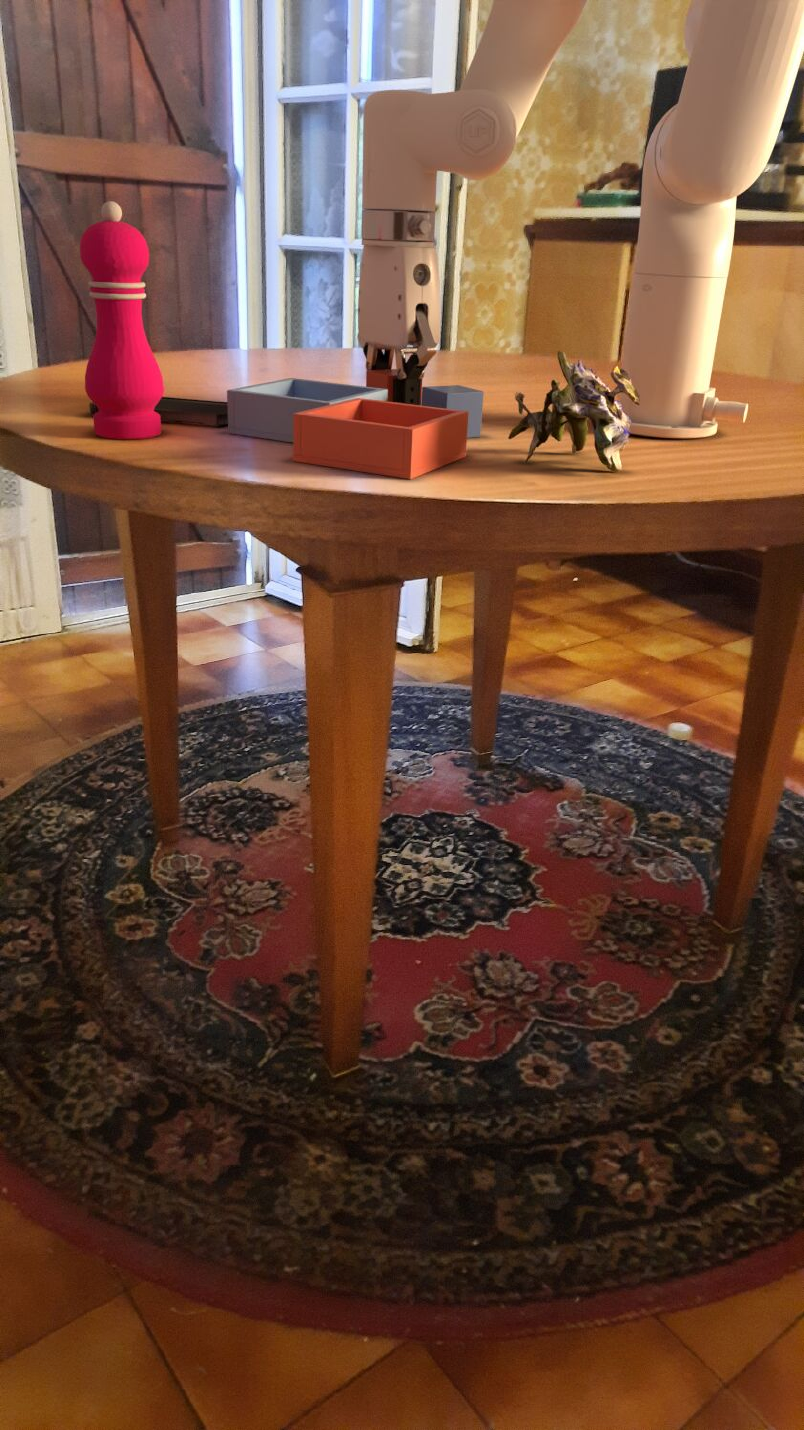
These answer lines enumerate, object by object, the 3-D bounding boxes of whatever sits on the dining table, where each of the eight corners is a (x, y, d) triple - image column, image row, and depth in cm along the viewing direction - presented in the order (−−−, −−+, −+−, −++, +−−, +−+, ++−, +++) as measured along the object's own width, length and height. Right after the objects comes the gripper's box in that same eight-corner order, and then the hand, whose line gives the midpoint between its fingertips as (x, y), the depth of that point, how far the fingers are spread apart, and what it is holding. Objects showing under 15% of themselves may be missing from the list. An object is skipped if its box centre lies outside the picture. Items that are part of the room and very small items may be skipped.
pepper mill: (176, 429, 101) (163, 204, 92) (153, 442, 95) (137, 202, 86) (105, 424, 102) (86, 200, 93) (77, 438, 95) (54, 198, 86)
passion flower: (602, 529, 94) (646, 437, 84) (488, 499, 94) (518, 404, 83) (616, 441, 100) (658, 345, 89) (508, 413, 99) (538, 314, 89)
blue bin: (386, 430, 105) (388, 389, 103) (329, 448, 96) (329, 403, 94) (291, 417, 110) (291, 377, 108) (227, 433, 100) (226, 390, 98)
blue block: (480, 437, 104) (484, 391, 102) (444, 440, 102) (447, 393, 100) (455, 429, 107) (458, 385, 105) (419, 432, 105) (421, 386, 103)
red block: (421, 416, 113) (422, 374, 111) (386, 419, 110) (387, 375, 108) (399, 410, 116) (400, 368, 114) (365, 412, 114) (366, 370, 112)
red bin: (465, 456, 95) (468, 411, 93) (410, 479, 85) (412, 429, 84) (357, 441, 99) (357, 397, 98) (293, 461, 90) (292, 413, 88)
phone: (120, 393, 112) (249, 403, 109) (121, 404, 112) (250, 414, 109) (84, 403, 105) (221, 415, 102) (85, 415, 105) (221, 426, 102)
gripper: (475, 234, 101) (464, 423, 109) (386, 230, 113) (382, 399, 121) (411, 232, 97) (405, 428, 105) (327, 228, 110) (327, 403, 118)
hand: (393, 411), depth 113 cm, fingers closed on red block, 4 cm apart
